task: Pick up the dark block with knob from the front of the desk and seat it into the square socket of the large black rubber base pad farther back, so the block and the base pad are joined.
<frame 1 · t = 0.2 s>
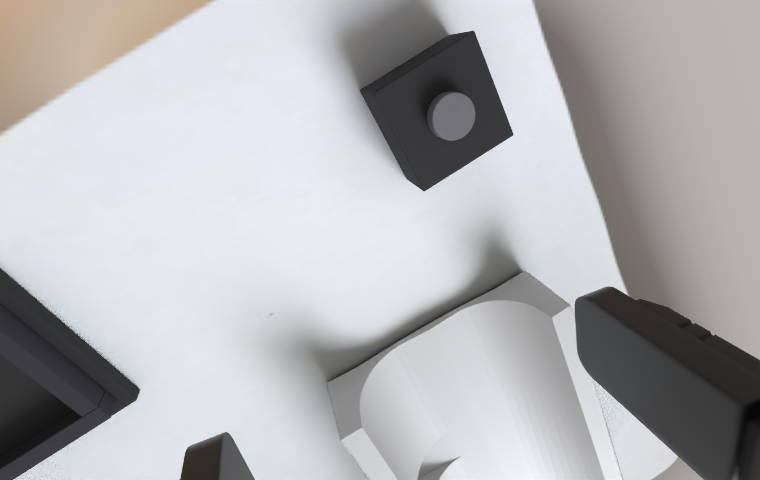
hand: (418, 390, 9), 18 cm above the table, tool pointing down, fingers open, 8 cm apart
dark block with knob: (427, 110, 25), on the table
white notched trough tray: (454, 442, 36), on the table
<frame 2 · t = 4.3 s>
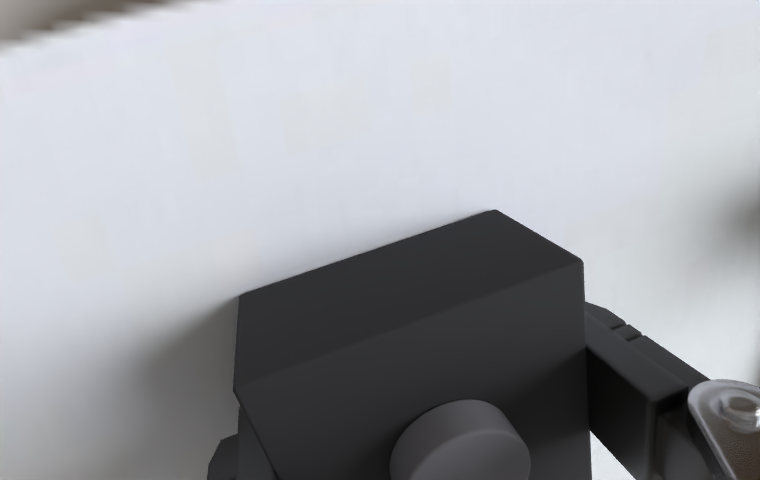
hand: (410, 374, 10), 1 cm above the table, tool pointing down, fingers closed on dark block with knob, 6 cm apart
dark block with knob: (401, 354, 11), on the table, touching gripper
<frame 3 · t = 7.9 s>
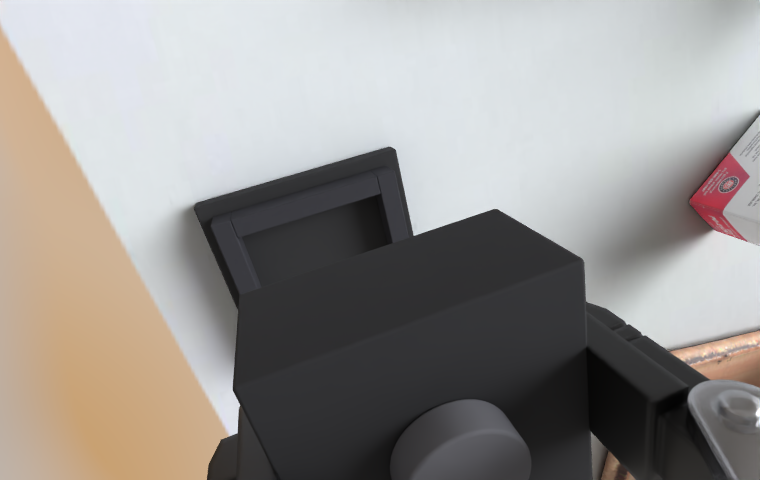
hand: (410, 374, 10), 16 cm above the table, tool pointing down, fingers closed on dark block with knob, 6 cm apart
ink box: (736, 171, 33), on the table
dark block with knob: (401, 353, 11), point 15 cm above the table, touching gripper
case: (690, 417, 43), on the table
base pad: (323, 260, 26), on the table
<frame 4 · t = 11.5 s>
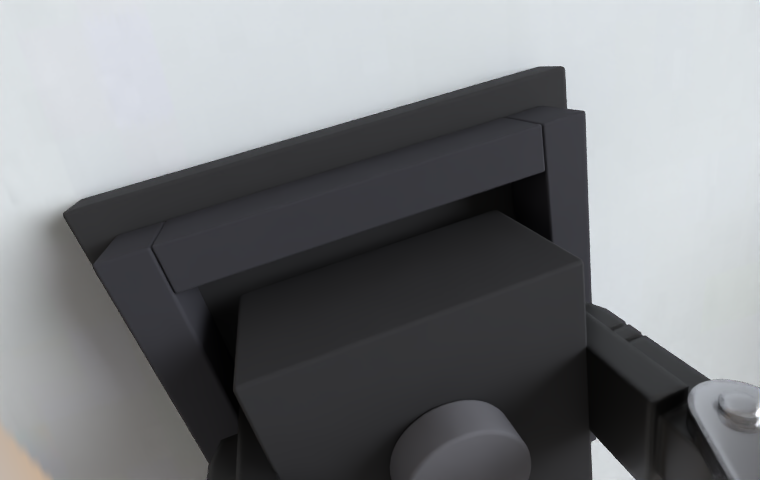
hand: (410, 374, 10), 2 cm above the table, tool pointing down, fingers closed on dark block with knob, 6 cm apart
dark block with knob: (401, 354, 11), point 2 cm above the table, touching gripper
base pad: (383, 320, 12), on the table
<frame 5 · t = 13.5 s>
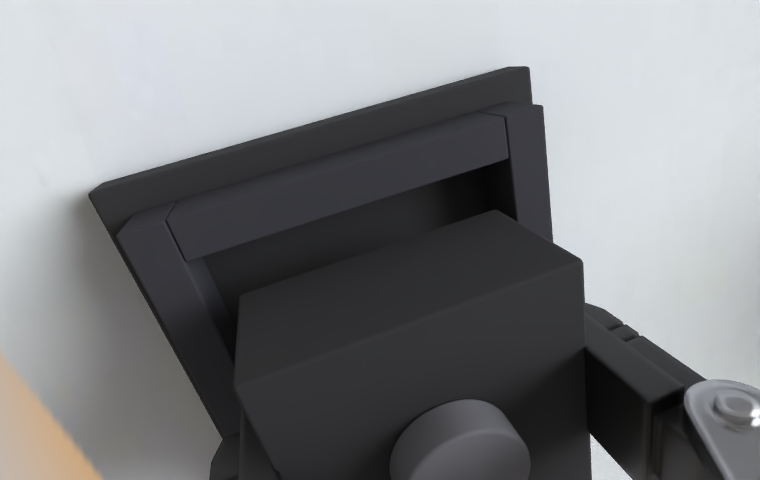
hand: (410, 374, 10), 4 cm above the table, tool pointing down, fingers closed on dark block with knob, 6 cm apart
dark block with knob: (401, 354, 11), point 3 cm above the table, touching gripper
base pad: (370, 296, 13), on the table
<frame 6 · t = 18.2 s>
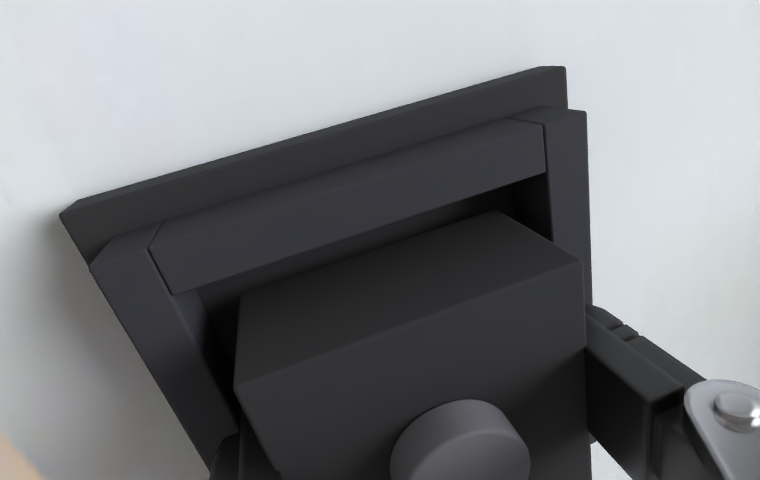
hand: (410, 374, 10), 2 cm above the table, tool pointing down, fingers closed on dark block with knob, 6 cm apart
dark block with knob: (401, 354, 11), point 2 cm above the table, touching gripper
base pad: (382, 321, 12), on the table
when the fingers open (4 cm above the table, at t = 22.8 s): dark block with knob drops 2 cm, resting on base pad.
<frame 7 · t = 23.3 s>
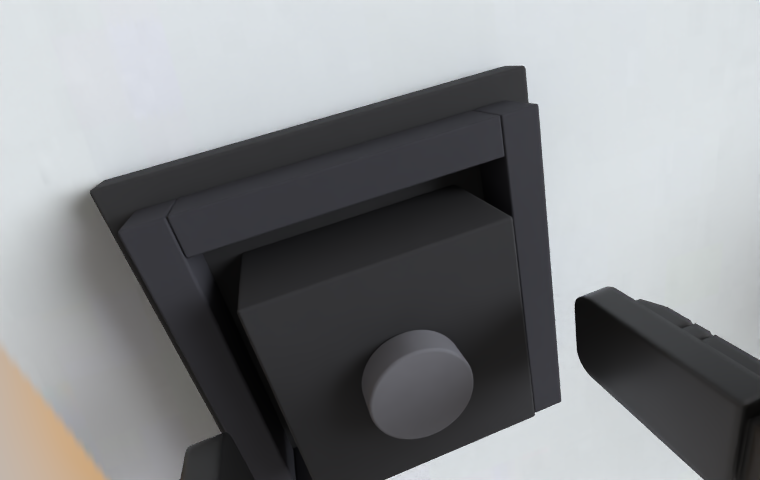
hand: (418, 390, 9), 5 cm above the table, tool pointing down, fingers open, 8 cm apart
dark block with knob: (377, 308, 13), point 1 cm above the table, touching base pad
base pad: (369, 293, 14), on the table, touching dark block with knob
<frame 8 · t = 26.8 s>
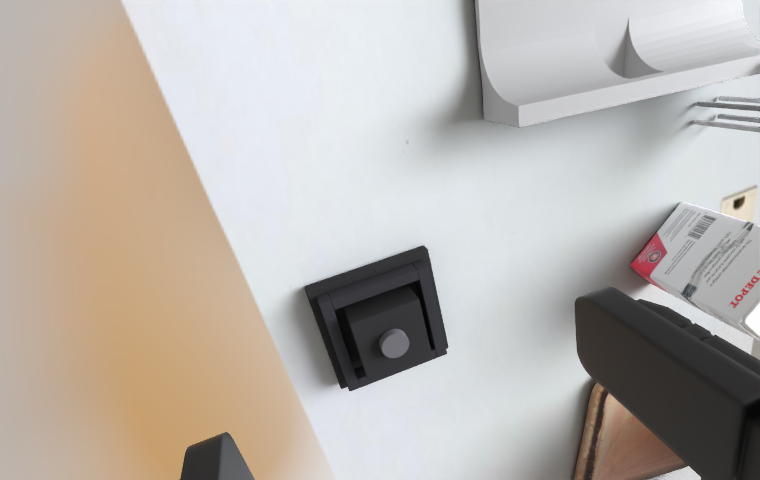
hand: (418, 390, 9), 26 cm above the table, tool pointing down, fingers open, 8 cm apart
ink box: (664, 243, 46), on the table
dark block with knob: (383, 321, 39), point 1 cm above the table, touching base pad
case: (645, 417, 57), on the table
white notched trough tray: (613, 18, 36), on the table
base pad: (380, 316, 40), on the table, touching dark block with knob
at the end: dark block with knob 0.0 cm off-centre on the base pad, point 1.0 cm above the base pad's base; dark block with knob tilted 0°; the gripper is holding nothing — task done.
